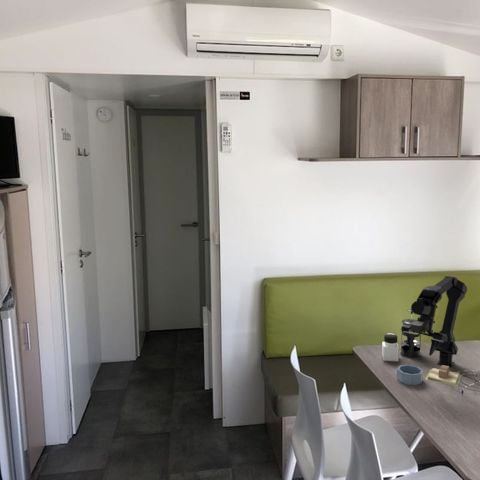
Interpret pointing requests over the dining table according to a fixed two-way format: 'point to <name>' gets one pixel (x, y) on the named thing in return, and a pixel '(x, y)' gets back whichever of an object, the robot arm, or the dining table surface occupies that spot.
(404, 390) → the dining table surface
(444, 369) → the lid
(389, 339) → the medicine bottle
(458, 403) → the dining table surface
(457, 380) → the mat
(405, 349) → the french press
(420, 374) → the bowl
